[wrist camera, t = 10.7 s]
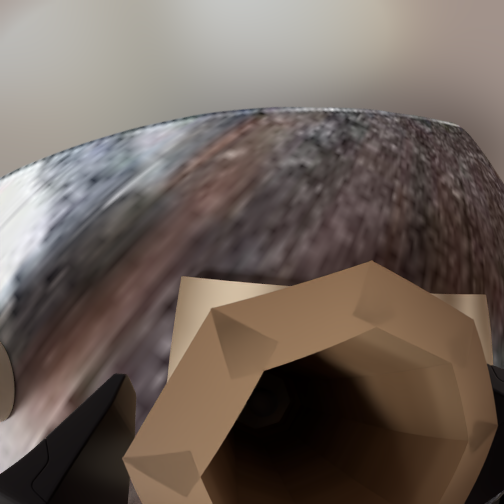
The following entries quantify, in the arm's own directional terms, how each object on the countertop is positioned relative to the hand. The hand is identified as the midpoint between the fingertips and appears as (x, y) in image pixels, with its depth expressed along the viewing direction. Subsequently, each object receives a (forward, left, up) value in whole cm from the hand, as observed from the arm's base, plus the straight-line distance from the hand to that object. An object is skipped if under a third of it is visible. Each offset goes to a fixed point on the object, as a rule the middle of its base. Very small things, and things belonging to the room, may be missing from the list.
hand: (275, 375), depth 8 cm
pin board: (-6, -5, -9) cm, 12 cm away
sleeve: (-1, +1, -8) cm, 8 cm away
